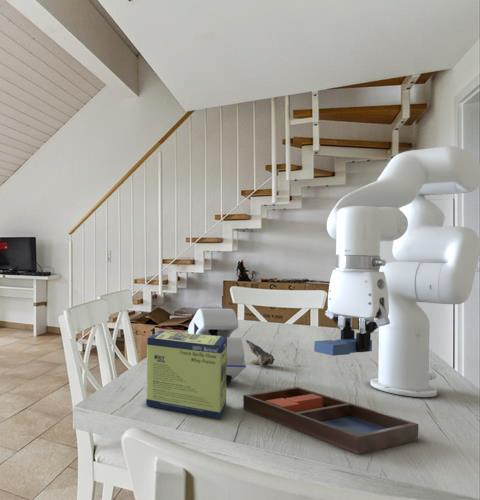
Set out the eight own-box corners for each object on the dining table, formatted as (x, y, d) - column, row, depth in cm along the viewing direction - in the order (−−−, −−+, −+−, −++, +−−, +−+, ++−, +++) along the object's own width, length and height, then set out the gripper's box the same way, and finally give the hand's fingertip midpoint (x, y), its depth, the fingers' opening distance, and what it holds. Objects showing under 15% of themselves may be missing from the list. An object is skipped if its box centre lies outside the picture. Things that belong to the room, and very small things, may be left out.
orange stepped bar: (308, 403, 106) (308, 392, 106) (326, 409, 103) (326, 398, 102) (265, 410, 102) (265, 399, 102) (282, 417, 98) (282, 405, 98)
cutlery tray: (297, 399, 111) (297, 386, 111) (418, 440, 88) (418, 423, 88) (243, 408, 105) (243, 394, 105) (358, 454, 83) (358, 437, 83)
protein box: (221, 420, 99) (222, 345, 98) (145, 406, 107) (145, 337, 106) (227, 405, 107) (228, 336, 107) (156, 393, 116) (157, 329, 115)
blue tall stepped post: (356, 348, 105) (356, 337, 105) (375, 352, 102) (376, 340, 102) (314, 351, 101) (314, 340, 101) (333, 355, 97) (333, 344, 97)
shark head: (240, 363, 143) (240, 341, 143) (251, 360, 147) (251, 338, 147) (267, 369, 137) (267, 346, 136) (278, 366, 140) (278, 343, 140)
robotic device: (228, 401, 132) (214, 334, 143) (256, 375, 114) (238, 300, 125) (189, 400, 133) (178, 333, 144) (211, 373, 115) (197, 300, 126)
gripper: (411, 266, 96) (409, 357, 96) (332, 262, 111) (330, 341, 111) (386, 265, 93) (384, 359, 93) (308, 262, 108) (306, 343, 109)
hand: (354, 349), depth 102 cm, fingers closed on blue tall stepped post, 2 cm apart
